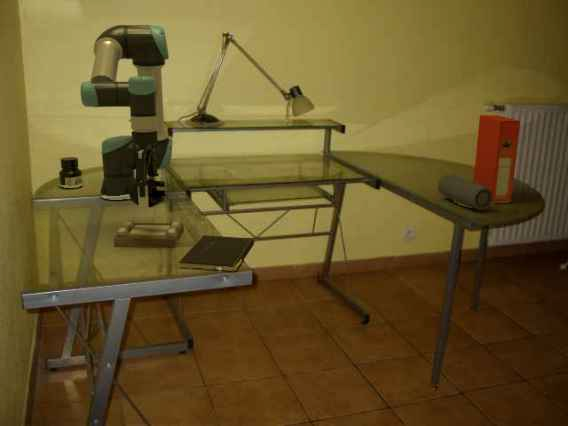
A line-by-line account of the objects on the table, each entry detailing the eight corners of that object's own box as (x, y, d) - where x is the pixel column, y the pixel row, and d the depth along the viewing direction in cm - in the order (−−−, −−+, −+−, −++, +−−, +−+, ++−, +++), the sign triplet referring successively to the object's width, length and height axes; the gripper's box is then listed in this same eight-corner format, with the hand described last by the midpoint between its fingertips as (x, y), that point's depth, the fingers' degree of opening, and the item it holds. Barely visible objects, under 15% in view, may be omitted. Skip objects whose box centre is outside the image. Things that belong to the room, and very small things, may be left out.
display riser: (128, 229, 189) (127, 218, 188) (183, 230, 189) (183, 218, 188) (114, 246, 174) (113, 233, 173) (174, 247, 174) (174, 234, 173)
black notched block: (145, 198, 183) (144, 177, 181) (166, 199, 182) (165, 178, 180) (129, 206, 174) (128, 184, 172) (151, 208, 172) (150, 185, 170)
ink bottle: (69, 190, 236) (66, 161, 233) (55, 187, 241) (52, 159, 238) (88, 186, 244) (85, 157, 241) (74, 183, 249) (71, 155, 245)
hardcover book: (178, 269, 158) (178, 261, 158) (203, 242, 180) (203, 235, 180) (236, 274, 156) (236, 266, 155) (254, 245, 178) (254, 238, 177)
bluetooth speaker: (492, 211, 214) (495, 185, 211) (471, 214, 211) (474, 187, 208) (455, 196, 235) (457, 172, 232) (435, 198, 232) (437, 174, 229)
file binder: (490, 204, 224) (500, 120, 215) (471, 193, 241) (479, 115, 232) (510, 203, 225) (521, 120, 216) (490, 192, 242) (499, 115, 233)
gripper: (141, 124, 183) (145, 192, 189) (120, 135, 161) (125, 212, 167) (165, 125, 183) (168, 193, 189) (147, 136, 161) (152, 212, 167)
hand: (148, 202), depth 178 cm, fingers closed on black notched block, 11 cm apart
